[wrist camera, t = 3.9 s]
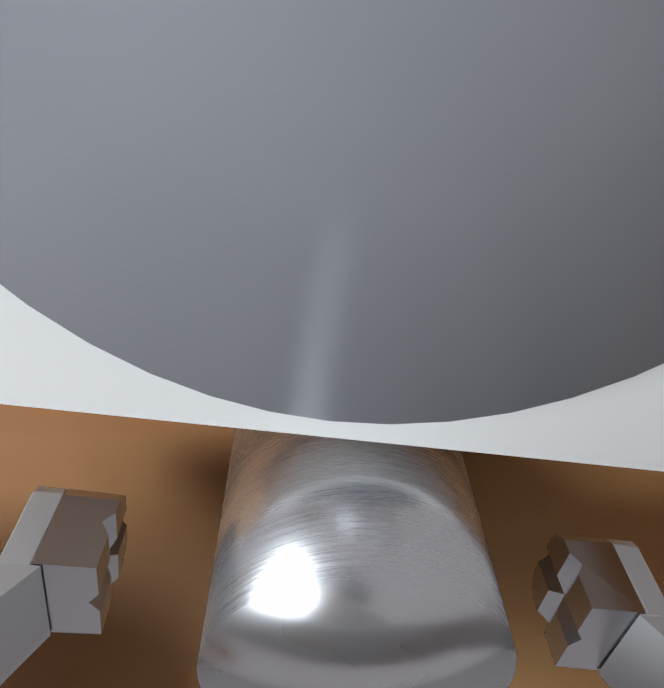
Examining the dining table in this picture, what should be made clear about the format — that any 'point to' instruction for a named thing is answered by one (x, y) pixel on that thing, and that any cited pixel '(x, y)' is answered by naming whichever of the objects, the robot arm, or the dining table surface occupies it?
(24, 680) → the dining table surface
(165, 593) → the dining table surface
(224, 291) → the kitchen scale
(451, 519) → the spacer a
